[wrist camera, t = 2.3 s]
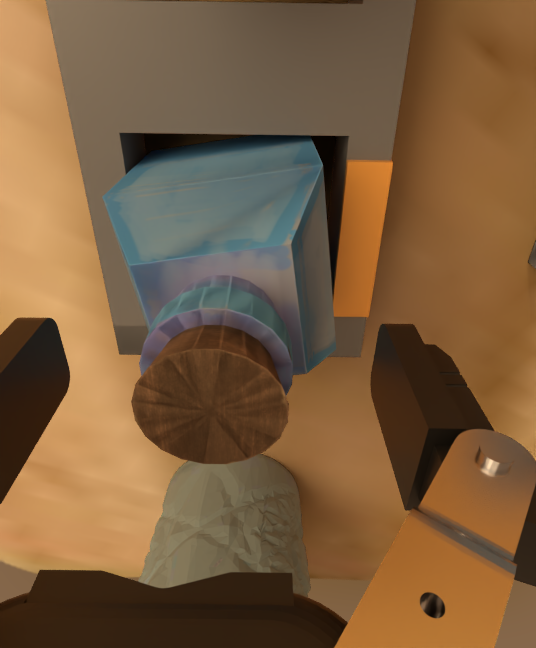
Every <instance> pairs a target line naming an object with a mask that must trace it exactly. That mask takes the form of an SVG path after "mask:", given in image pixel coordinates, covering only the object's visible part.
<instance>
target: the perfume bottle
mask: <svg viewBox="0 0 536 648" xmlns="http://www.w3.org/2000/svg"><path fill="white" fill-rule="evenodd" d="M102 198H103V200H104V203H105V206H106V209H107V212H108V215H109V218H110V221H111V224H112V227H113V229H114V232H115V235H116V238H117V241H118V244H119V247H120V250H121V253H122V256H123V259H124V261H125V264H126V267H127V270H128V273H129V276H130V279H131V282H132V285H133V288H134V290H135V293H136V296H137V299H138V302H139V305H140V308H141V311H142V314H143V317H144V319H145V322H146V325H147V328H148V331H149V333H148V335H147V338H146V340H145V342H144V345H143V349H142V354H141V358H140V362H139V365H140V370H141V378H140V379H139V380H138V381H137V383H136V385H135V389H134V393H133V397H132V401H131V402H132V407H133V412H134V417H135V421H136V422H137V424H138V425H139V427H140V429H141V430H142V432H143V433H144V435H145V436H146V437H147V438H148V439H149V440H151V441H152V442H153V443H154V444H155V445H157V446H158V447H159V448H160V449H161V450H163V451H165V452H168V453H170V454H172V455H174V456H176V457H178V458H180V459H183V460H188V461H192V462H197V463H201V464H229V463H234V462H239V461H244V460H248V459H250V458H252V457H254V456H256V455H258V454H260V453H262V452H264V451H266V450H267V449H268V448H269V447H270V446H271V445H273V444H274V443H275V442H276V441H277V440H278V439H279V438H280V436H281V434H282V432H283V430H284V428H285V426H286V424H287V422H288V409H289V403H288V401H287V398H286V395H287V393H288V391H289V389H290V387H291V385H292V375H299V374H307V373H308V372H309V371H310V370H312V369H313V368H314V367H315V366H316V365H318V364H319V363H320V362H321V361H323V360H324V359H325V358H326V357H327V356H329V355H330V354H331V353H332V352H334V351H335V350H336V338H335V324H334V311H333V297H332V283H331V269H330V255H329V241H328V228H327V214H326V200H325V186H324V172H323V164H322V161H321V159H320V157H319V155H318V152H317V150H316V148H315V146H314V143H313V141H312V139H311V136H310V135H252V136H245V137H239V138H232V139H226V140H219V141H213V142H206V143H199V144H193V145H186V146H180V147H173V148H167V149H160V150H153V151H151V152H150V153H149V154H147V155H146V156H145V157H144V158H143V159H142V160H141V161H140V162H139V163H138V164H137V165H136V166H135V167H134V168H133V169H131V170H130V171H129V172H128V173H127V174H126V175H125V176H124V177H123V178H122V179H121V180H120V181H119V182H118V183H117V184H115V185H114V186H113V187H112V188H111V189H110V190H109V191H108V192H107V193H106V194H105V195H104V196H103V197H102Z"/></svg>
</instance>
